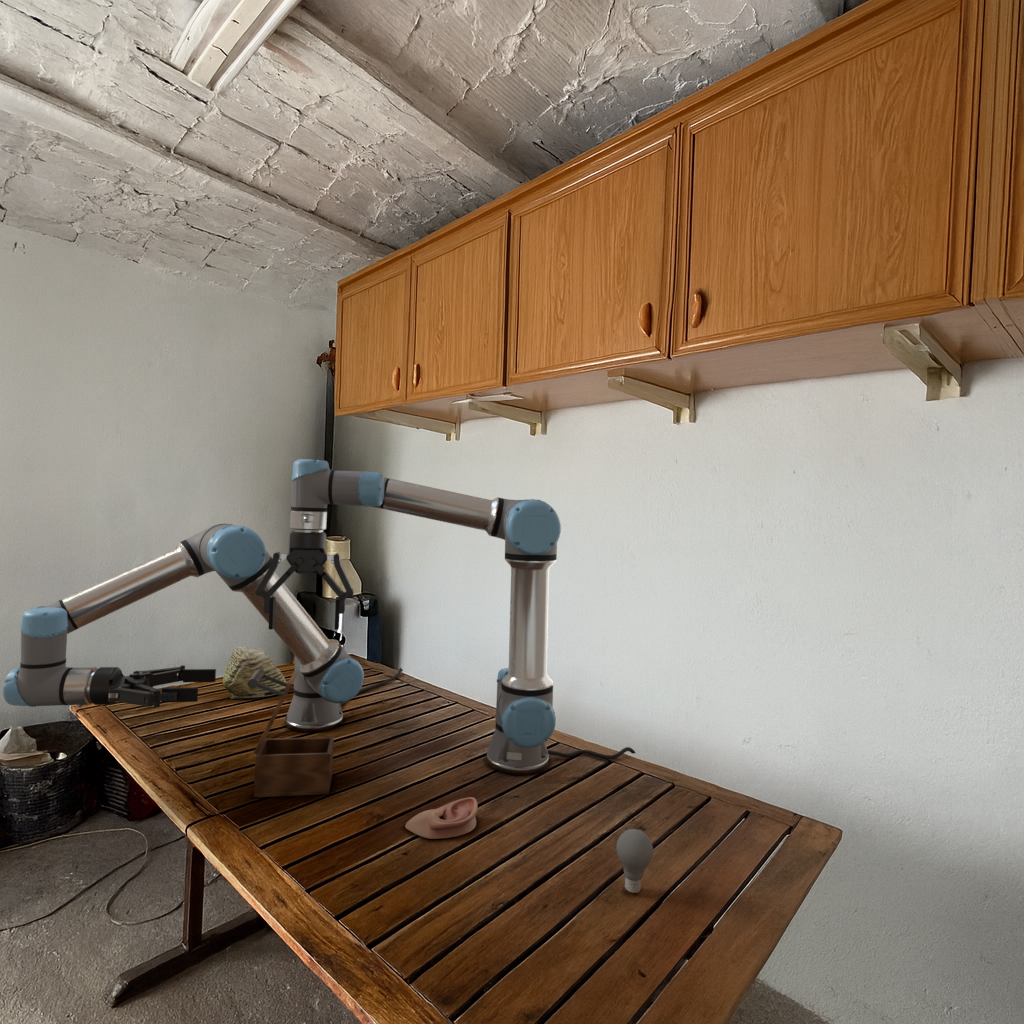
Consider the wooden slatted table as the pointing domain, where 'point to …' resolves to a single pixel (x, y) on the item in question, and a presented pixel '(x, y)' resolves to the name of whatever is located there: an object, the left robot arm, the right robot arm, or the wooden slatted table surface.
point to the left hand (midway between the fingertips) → (206, 684)
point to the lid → (255, 683)
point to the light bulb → (634, 857)
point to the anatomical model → (445, 820)
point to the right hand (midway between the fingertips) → (304, 628)
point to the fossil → (250, 673)
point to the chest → (294, 767)
